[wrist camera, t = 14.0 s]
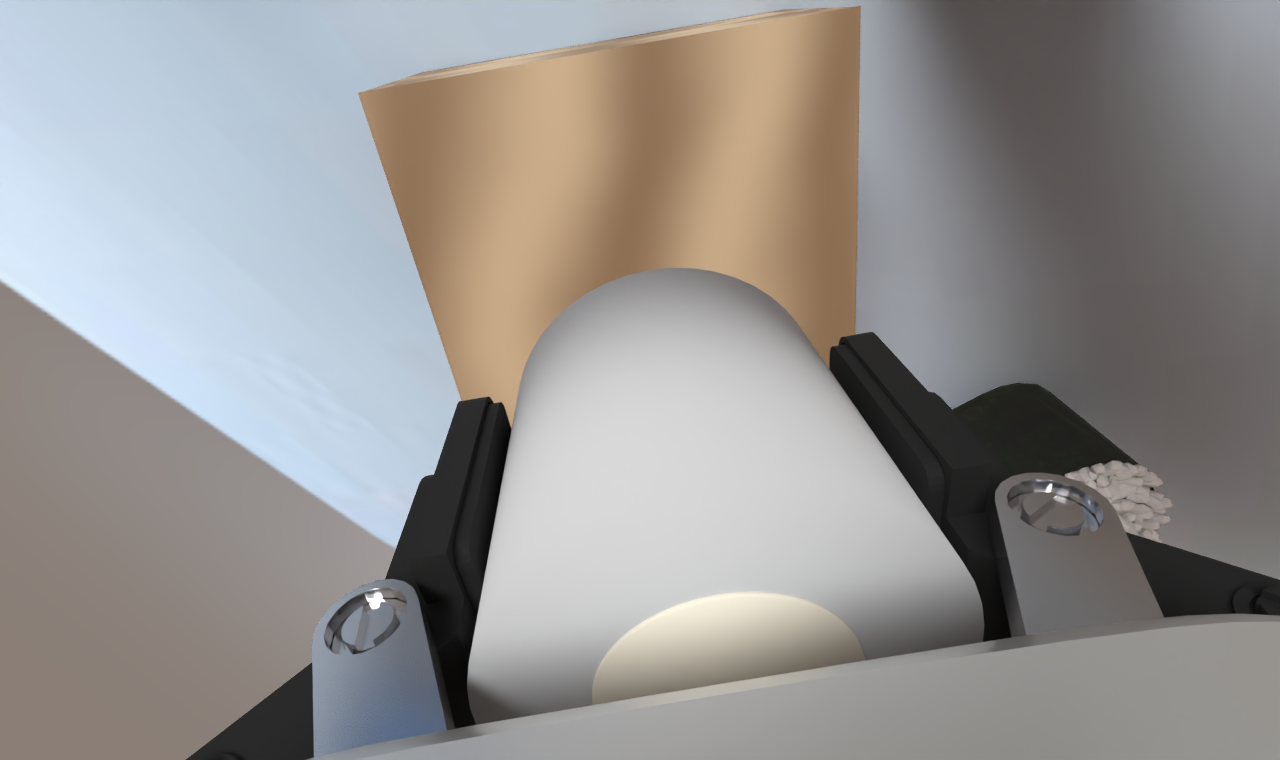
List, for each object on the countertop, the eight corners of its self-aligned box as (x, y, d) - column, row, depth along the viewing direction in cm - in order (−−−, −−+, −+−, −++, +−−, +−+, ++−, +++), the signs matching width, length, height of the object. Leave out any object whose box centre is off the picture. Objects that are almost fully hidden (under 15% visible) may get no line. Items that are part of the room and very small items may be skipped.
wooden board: (852, 6, 18) (860, 5, 17) (848, 376, 23) (854, 384, 23) (364, 91, 18) (358, 93, 17) (479, 437, 24) (477, 446, 23)
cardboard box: (784, 9, 24) (851, 7, 18) (792, 299, 30) (844, 371, 24) (421, 72, 24) (365, 91, 18) (502, 348, 30) (481, 431, 24)
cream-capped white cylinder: (817, 241, 11) (1027, 444, 6) (819, 499, 14) (958, 787, 9) (481, 298, 11) (385, 550, 6) (554, 543, 14) (535, 854, 9)
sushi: (1080, 457, 36) (1196, 560, 29) (944, 522, 38) (1023, 634, 31) (1045, 356, 33) (1168, 446, 26) (896, 434, 34) (973, 538, 27)
